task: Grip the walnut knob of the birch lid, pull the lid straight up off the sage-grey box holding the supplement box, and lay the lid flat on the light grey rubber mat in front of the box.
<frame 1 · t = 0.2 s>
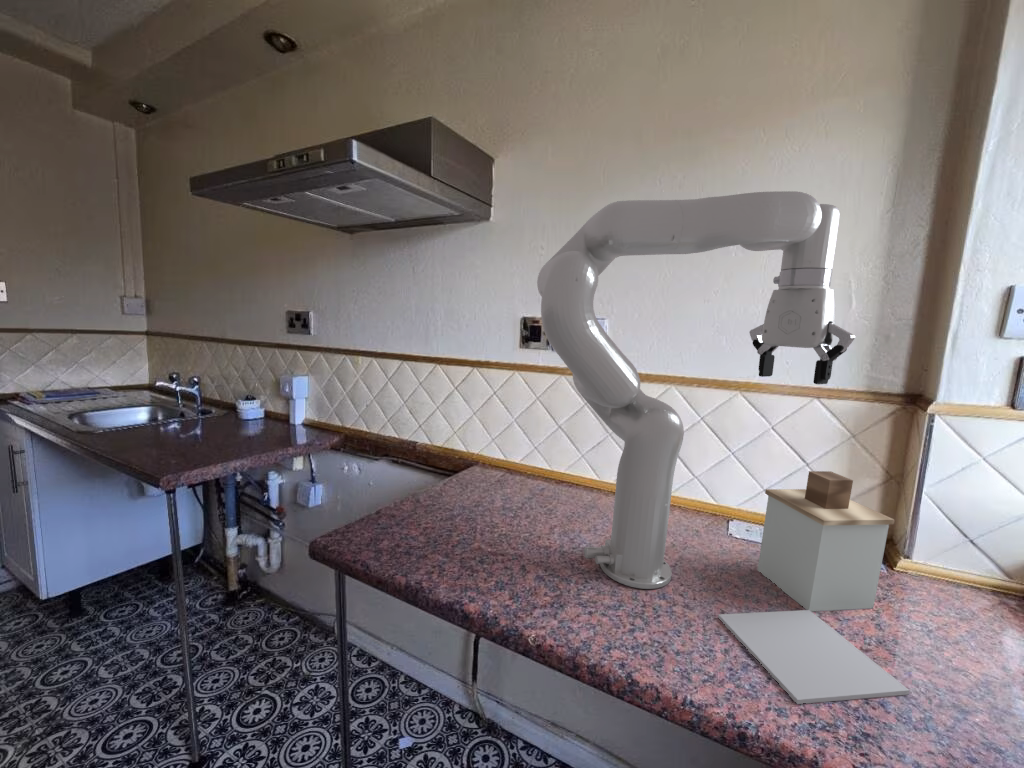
hand: (791, 379, 81), 36 cm above the worktop, tool pointing down, fingers open, 9 cm apart
lid: (824, 513, 79), point 14 cm above the worktop, touching box
mat: (803, 652, 64), on the worktop
supplement box: (811, 589, 81), resting in box
box: (811, 588, 81), on the worktop
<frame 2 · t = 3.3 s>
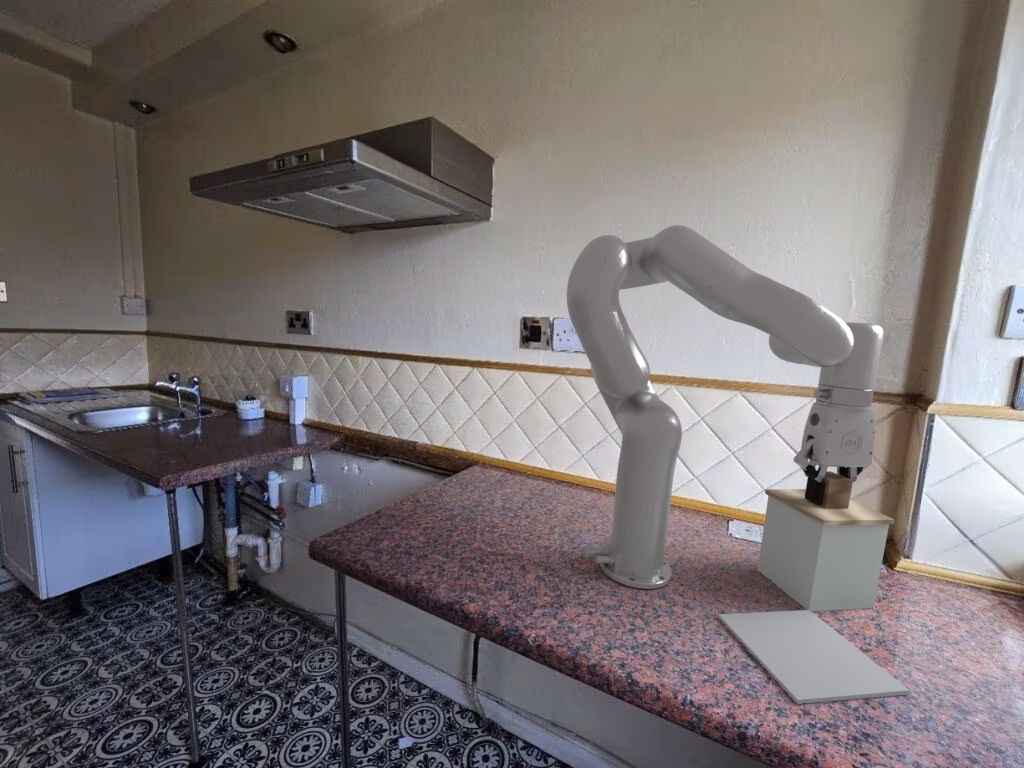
hand: (826, 500, 78), 16 cm above the worktop, tool pointing down, fingers closed on lid, 4 cm apart
lid: (824, 513, 79), point 14 cm above the worktop, touching box, gripper
everything else where it was.
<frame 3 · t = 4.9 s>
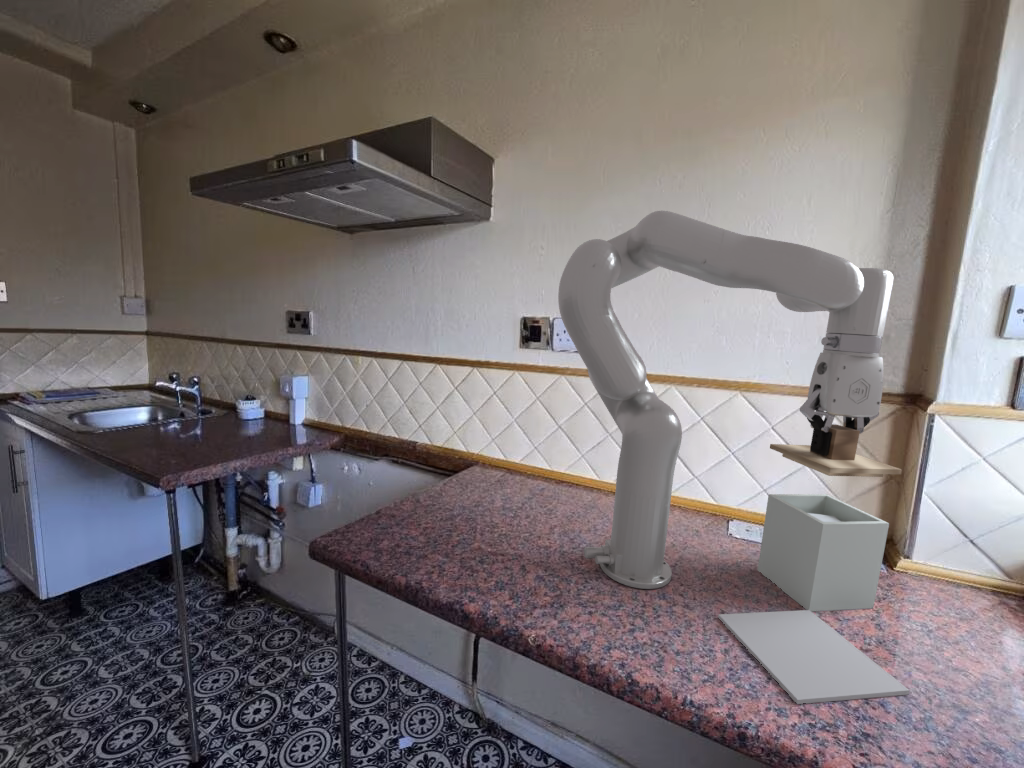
hand: (832, 452, 77), 25 cm above the worktop, tool pointing down, fingers closed on lid, 4 cm apart
lid: (829, 466, 77), point 22 cm above the worktop, touching gripper
everything else where it was.
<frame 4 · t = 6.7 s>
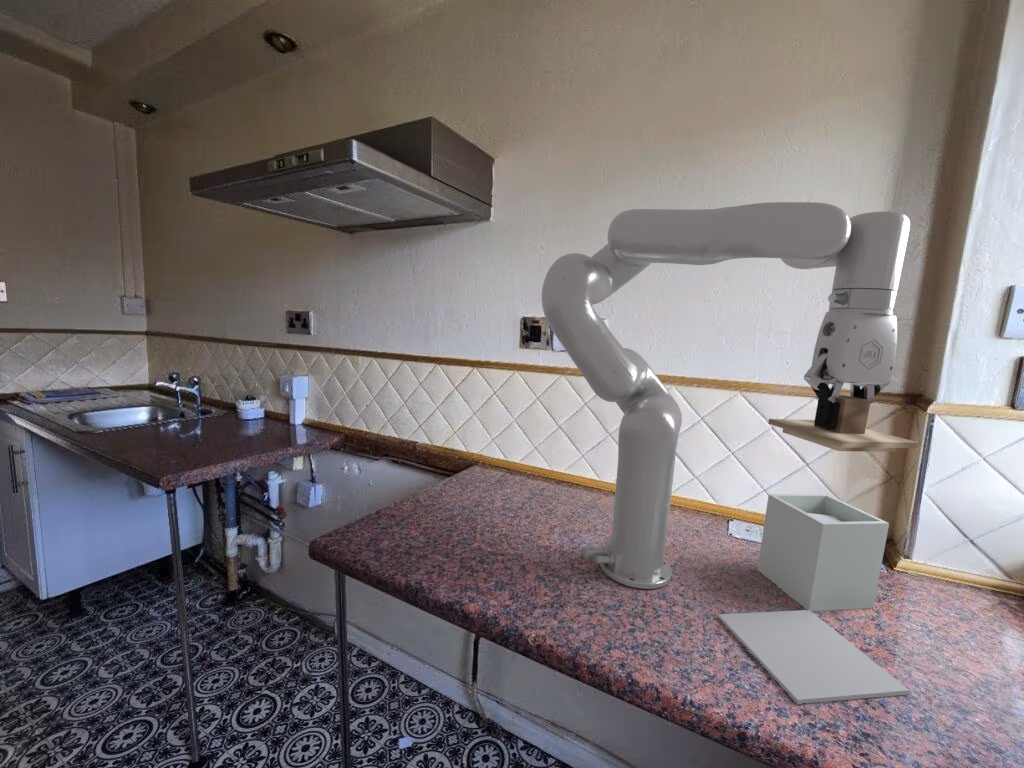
hand: (839, 426, 68), 31 cm above the worktop, tool pointing down, fingers closed on lid, 4 cm apart
lid: (836, 441, 68), point 29 cm above the worktop, touching gripper
everything else where it was.
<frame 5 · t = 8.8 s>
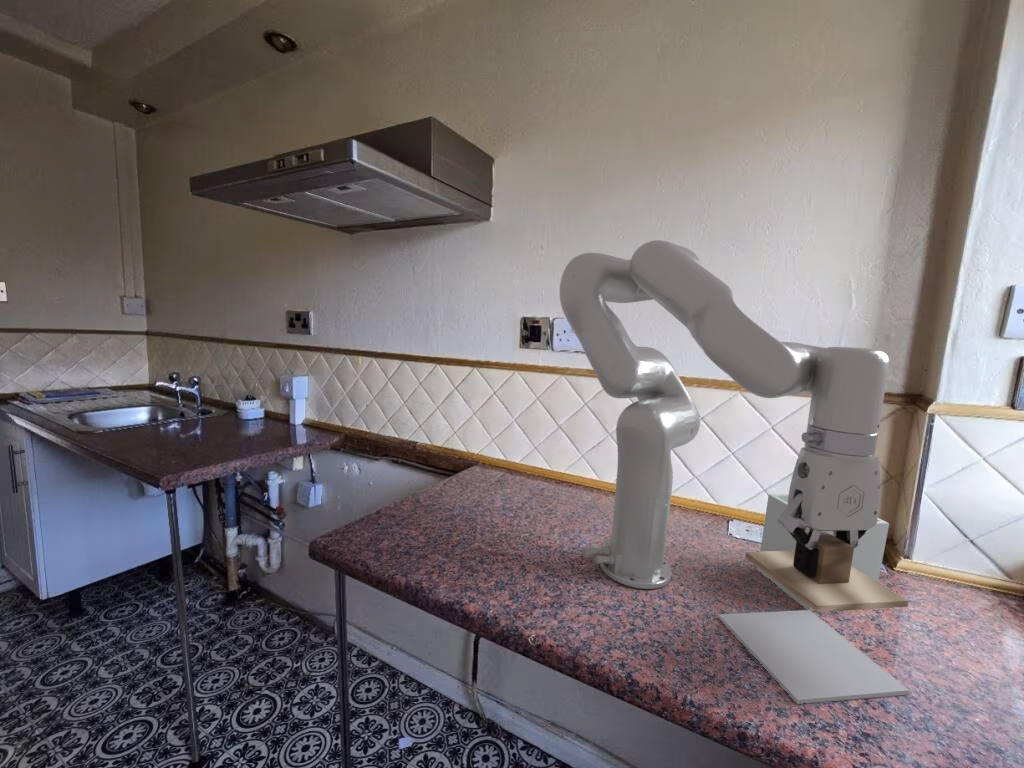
hand: (820, 570, 62), 13 cm above the worktop, tool pointing down, fingers closed on lid, 4 cm apart
lid: (818, 586, 62), point 10 cm above the worktop, touching gripper
everything else where it was.
when the fingers open (4 cm above the worktop, at t = 10.6 s): lid drops 1 cm, resting on mat.
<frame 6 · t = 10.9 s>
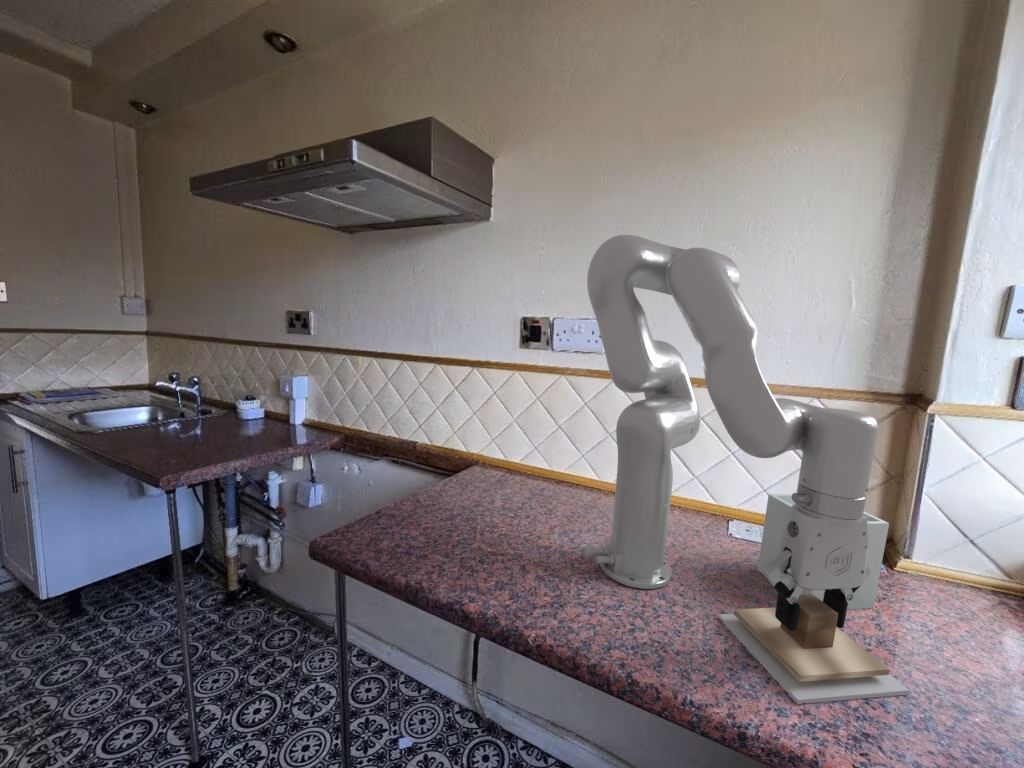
hand: (808, 621, 63), 5 cm above the worktop, tool pointing down, fingers open, 6 cm apart
lid: (803, 648, 64), point 1 cm above the worktop, touching mat
everything else where it was.
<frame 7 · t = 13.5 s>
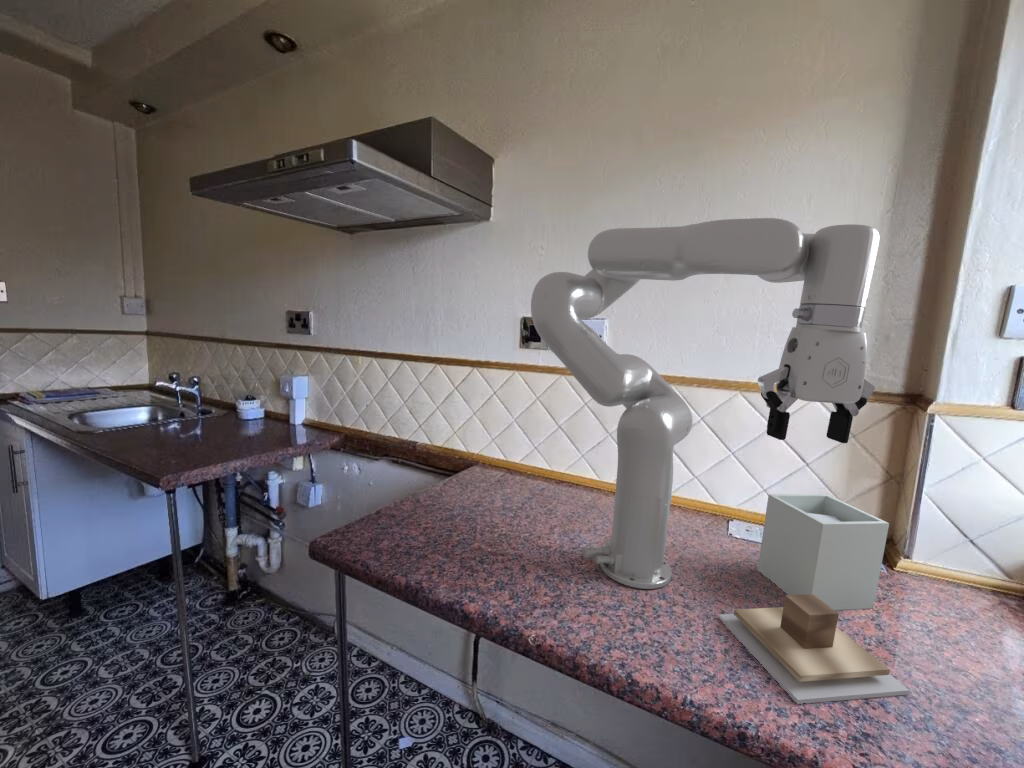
hand: (806, 438, 66), 29 cm above the worktop, tool pointing down, fingers open, 9 cm apart
nothing on the worktop moved.
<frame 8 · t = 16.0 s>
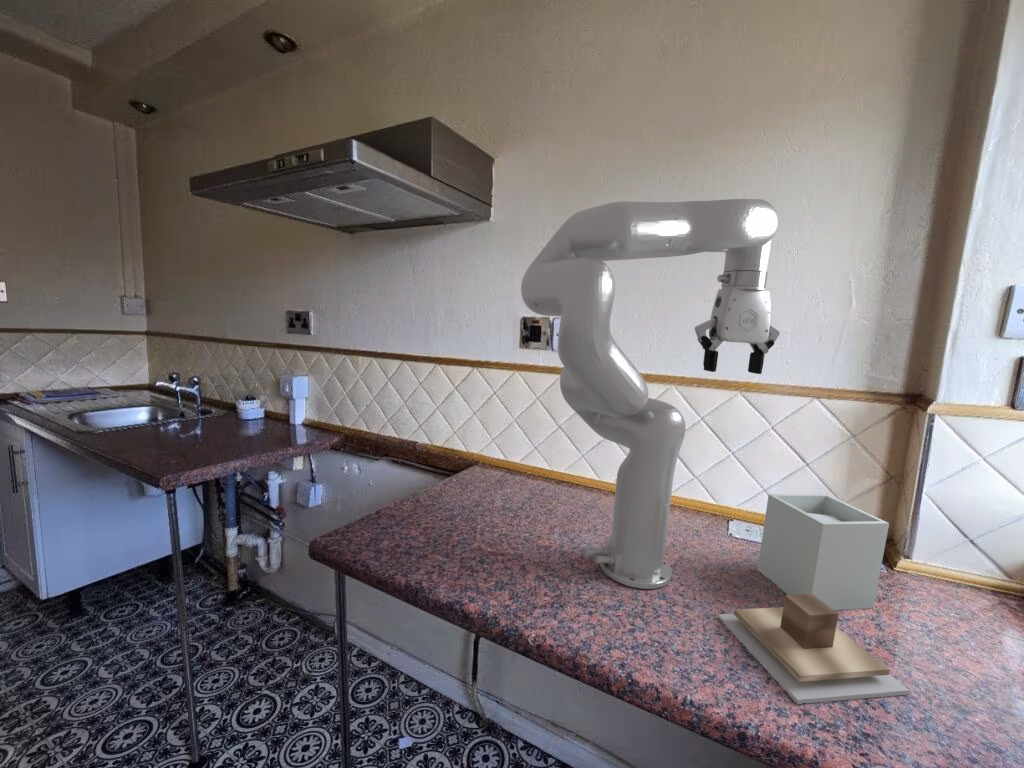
hand: (732, 372, 89), 36 cm above the worktop, tool pointing down, fingers open, 9 cm apart
nothing on the worktop moved.
at the end: lid 0.1 cm off-centre on the mat, point 0.6 cm above the mat's base; lid tilted 0°; the gripper is holding nothing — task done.
